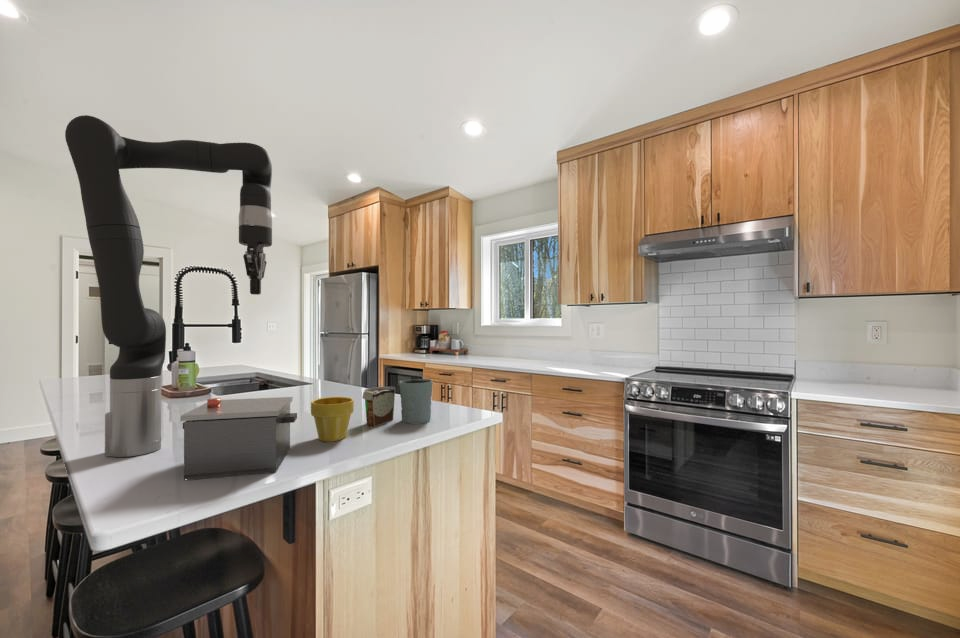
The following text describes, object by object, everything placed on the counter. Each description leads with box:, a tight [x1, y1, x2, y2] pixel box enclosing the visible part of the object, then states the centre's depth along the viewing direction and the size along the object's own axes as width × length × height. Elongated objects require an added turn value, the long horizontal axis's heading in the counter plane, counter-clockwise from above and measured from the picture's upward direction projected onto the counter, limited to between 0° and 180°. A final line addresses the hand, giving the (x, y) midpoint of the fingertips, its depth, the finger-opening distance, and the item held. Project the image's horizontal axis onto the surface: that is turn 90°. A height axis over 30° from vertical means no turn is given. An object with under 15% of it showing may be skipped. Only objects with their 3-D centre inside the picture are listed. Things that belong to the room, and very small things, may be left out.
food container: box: [362, 386, 397, 428], centre depth 125 cm, size 12×6×10 cm, turn 157°
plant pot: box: [310, 396, 355, 443], centre depth 109 cm, size 10×10×10 cm
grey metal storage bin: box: [182, 403, 298, 481], centre depth 90 cm, size 21×16×11 cm
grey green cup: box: [398, 378, 434, 425], centre depth 128 cm, size 10×10×12 cm
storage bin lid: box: [179, 396, 294, 422], centre depth 90 cm, size 17×16×2 cm
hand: (255, 294), depth 108 cm, fingers closed
